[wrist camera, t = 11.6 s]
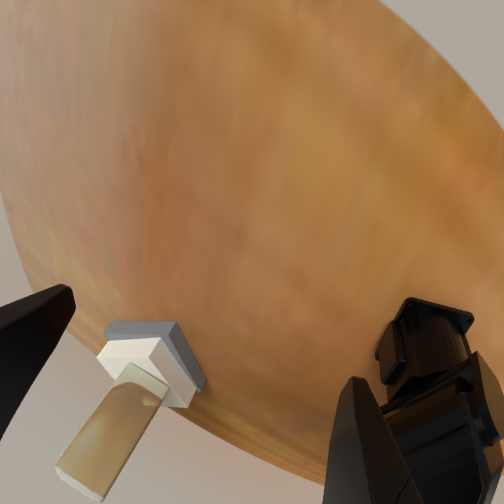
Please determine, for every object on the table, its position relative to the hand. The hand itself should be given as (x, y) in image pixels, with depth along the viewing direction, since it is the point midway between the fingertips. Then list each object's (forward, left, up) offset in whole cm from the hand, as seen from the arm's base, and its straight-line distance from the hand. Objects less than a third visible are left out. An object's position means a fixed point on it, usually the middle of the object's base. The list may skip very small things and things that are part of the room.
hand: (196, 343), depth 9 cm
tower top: (+8, +19, -11) cm, 24 cm away
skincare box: (+8, +19, -9) cm, 23 cm away
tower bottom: (+8, +19, -14) cm, 25 cm away
